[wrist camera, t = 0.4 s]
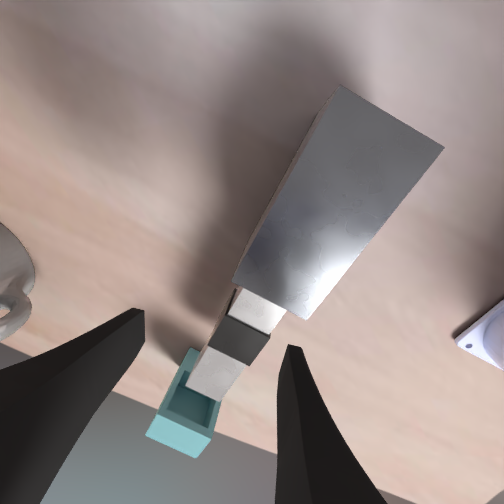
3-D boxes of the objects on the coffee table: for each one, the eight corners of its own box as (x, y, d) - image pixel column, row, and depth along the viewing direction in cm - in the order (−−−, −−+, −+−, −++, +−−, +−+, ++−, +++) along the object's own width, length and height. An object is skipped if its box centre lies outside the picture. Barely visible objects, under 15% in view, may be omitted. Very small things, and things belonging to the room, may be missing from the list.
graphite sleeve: (380, 149, 16) (444, 147, 9) (300, 265, 20) (306, 320, 13) (318, 112, 15) (340, 84, 9) (249, 238, 19) (230, 281, 13)
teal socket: (230, 366, 25) (211, 439, 19) (217, 385, 27) (195, 458, 20) (190, 347, 25) (157, 414, 19) (179, 367, 26) (145, 435, 20)
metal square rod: (381, 150, 13) (409, 150, 10) (230, 369, 22) (220, 404, 18) (330, 120, 13) (344, 111, 10) (197, 353, 21) (182, 386, 18)
